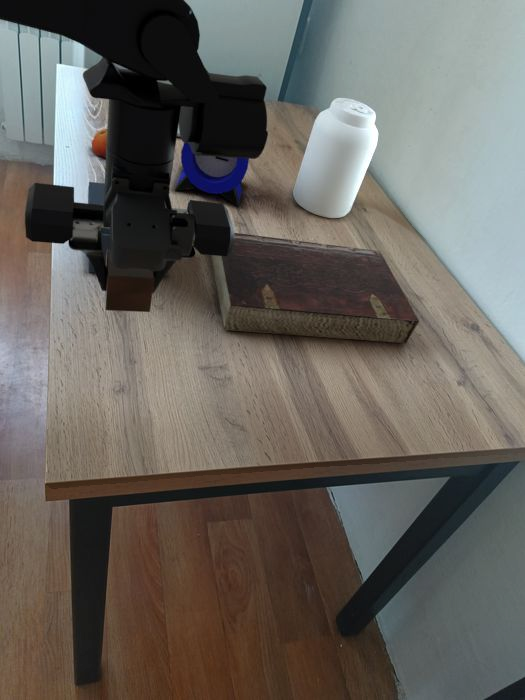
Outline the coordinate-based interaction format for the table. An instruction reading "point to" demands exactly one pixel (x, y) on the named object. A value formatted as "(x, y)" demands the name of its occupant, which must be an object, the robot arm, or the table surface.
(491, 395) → the table surface
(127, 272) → the block
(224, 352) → the table surface
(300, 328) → the hardback book
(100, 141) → the pumpkin
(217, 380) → the table surface
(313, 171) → the white plastic bottle
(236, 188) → the alarm clock
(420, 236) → the table surface
